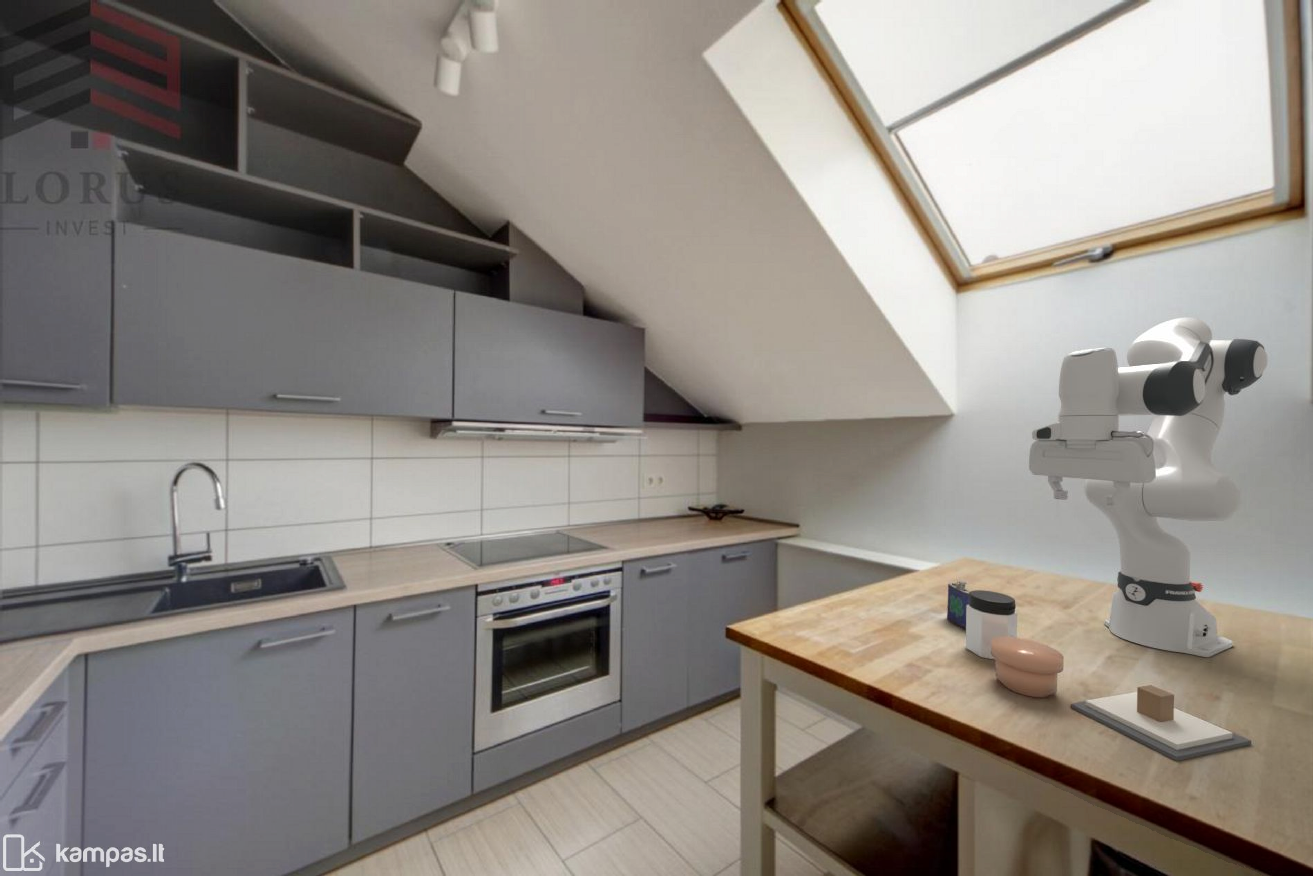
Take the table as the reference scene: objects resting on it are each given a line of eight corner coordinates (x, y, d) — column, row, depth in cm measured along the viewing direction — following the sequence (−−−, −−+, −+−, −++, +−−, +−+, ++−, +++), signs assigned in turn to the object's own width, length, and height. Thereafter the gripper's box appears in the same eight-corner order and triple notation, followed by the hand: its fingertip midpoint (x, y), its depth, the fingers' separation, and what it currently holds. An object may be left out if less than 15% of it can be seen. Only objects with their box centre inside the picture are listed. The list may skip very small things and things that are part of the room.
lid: (1136, 696, 85) (1137, 669, 85) (1232, 738, 74) (1233, 706, 74) (1085, 705, 82) (1085, 676, 82) (1176, 750, 71) (1177, 717, 71)
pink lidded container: (1019, 670, 96) (1020, 634, 96) (1078, 698, 85) (1079, 659, 85) (976, 676, 93) (976, 639, 93) (1031, 706, 83) (1032, 665, 83)
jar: (1003, 665, 98) (1004, 605, 98) (959, 650, 104) (960, 594, 104) (1022, 655, 103) (1023, 598, 102) (979, 641, 109) (980, 587, 109)
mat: (1138, 695, 87) (1138, 692, 87) (1251, 744, 73) (1251, 740, 73) (1070, 707, 83) (1070, 703, 83) (1176, 761, 69) (1176, 756, 69)
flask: (979, 632, 114) (980, 586, 114) (967, 632, 114) (968, 586, 114) (954, 617, 123) (954, 575, 123) (942, 618, 123) (943, 575, 123)
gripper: (1166, 431, 86) (1164, 510, 86) (1046, 431, 106) (1045, 495, 106) (1140, 430, 84) (1138, 510, 84) (1024, 431, 104) (1022, 496, 104)
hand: (1086, 502), depth 95 cm, fingers open, 8 cm apart
